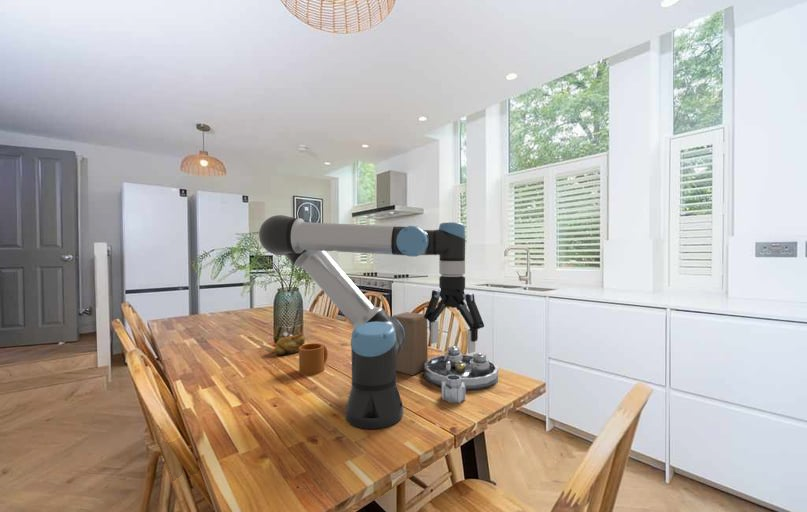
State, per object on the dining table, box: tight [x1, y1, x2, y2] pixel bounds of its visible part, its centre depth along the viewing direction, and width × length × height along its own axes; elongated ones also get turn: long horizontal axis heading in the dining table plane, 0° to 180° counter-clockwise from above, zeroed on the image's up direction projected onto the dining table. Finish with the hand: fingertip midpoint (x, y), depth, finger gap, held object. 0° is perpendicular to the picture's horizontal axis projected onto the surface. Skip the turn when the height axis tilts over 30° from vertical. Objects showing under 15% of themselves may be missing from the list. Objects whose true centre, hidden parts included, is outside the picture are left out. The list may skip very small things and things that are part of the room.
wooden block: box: [391, 311, 429, 376], centre depth 122 cm, size 10×10×20 cm
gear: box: [441, 375, 467, 404], centre depth 98 cm, size 7×7×6 cm
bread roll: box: [273, 333, 306, 356], centre depth 145 cm, size 13×10×8 cm
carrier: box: [423, 346, 499, 391], centre depth 116 cm, size 25×25×8 cm
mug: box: [298, 342, 329, 376], centre depth 123 cm, size 9×12×9 cm
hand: (452, 347), depth 99 cm, fingers open, 13 cm apart
